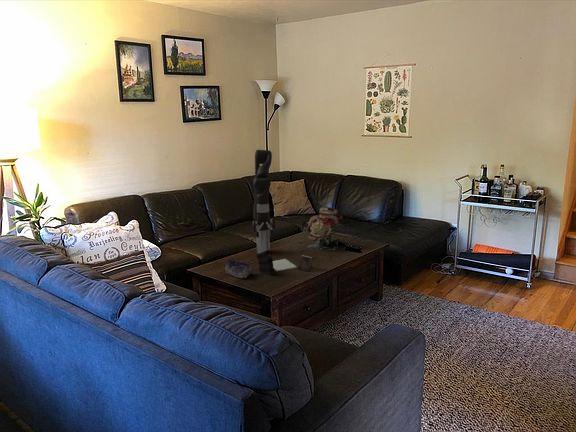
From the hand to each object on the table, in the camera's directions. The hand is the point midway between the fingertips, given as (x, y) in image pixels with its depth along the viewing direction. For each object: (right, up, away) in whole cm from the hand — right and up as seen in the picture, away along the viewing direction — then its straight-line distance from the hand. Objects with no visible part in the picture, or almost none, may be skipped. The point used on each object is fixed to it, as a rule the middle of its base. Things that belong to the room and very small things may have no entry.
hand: (264, 236), depth 286 cm
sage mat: (+10, -20, +17) cm, 28 cm away
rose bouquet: (+41, -10, +55) cm, 69 cm away
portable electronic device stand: (+26, -21, +9) cm, 35 cm away
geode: (-17, -24, +3) cm, 29 cm away
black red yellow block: (+1, -23, +5) cm, 24 cm away
